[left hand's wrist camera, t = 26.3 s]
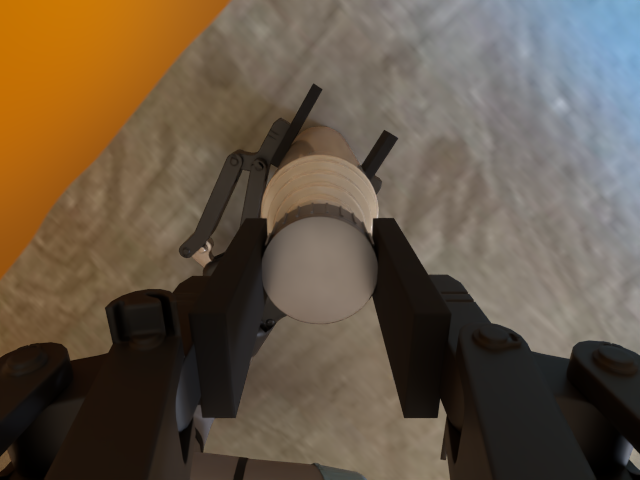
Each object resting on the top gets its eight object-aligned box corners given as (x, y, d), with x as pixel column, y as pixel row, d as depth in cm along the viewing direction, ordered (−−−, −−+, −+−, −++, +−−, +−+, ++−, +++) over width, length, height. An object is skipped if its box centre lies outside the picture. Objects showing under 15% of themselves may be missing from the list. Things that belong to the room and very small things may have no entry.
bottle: (339, 116, 35) (375, 155, 12) (358, 176, 37) (421, 306, 14) (280, 138, 36) (208, 213, 13) (301, 196, 38) (273, 350, 15)
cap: (269, 194, 13) (263, 206, 12) (383, 208, 14) (391, 222, 12) (261, 296, 15) (254, 318, 13) (364, 307, 15) (369, 331, 13)
